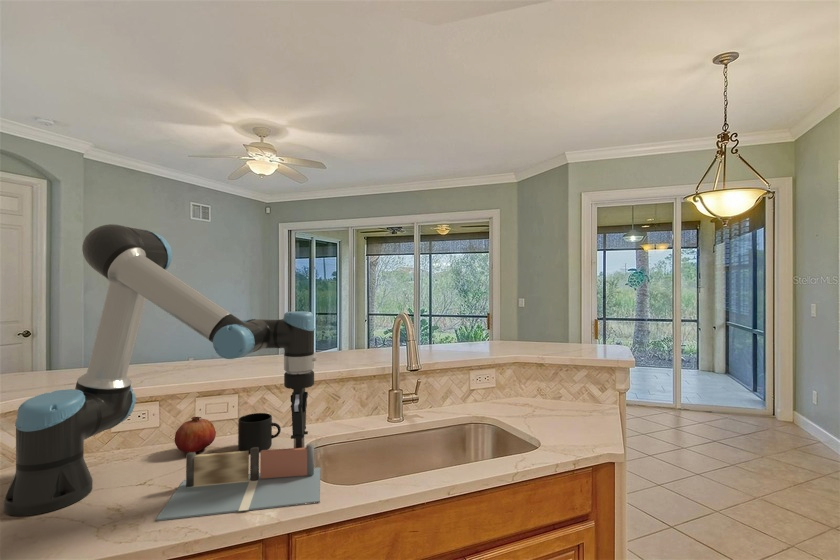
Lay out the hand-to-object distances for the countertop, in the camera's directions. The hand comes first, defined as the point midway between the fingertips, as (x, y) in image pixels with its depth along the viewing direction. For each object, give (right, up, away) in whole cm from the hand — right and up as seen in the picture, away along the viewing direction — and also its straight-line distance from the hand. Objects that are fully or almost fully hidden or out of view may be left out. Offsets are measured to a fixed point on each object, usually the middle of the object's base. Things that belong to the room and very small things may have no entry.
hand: (299, 461), depth 109 cm
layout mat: (-9, -3, -10) cm, 14 cm away
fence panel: (-2, -2, -3) cm, 4 cm away
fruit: (-35, -3, +14) cm, 38 cm away
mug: (-17, -4, +18) cm, 25 cm away
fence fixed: (-17, -3, -6) cm, 18 cm away
